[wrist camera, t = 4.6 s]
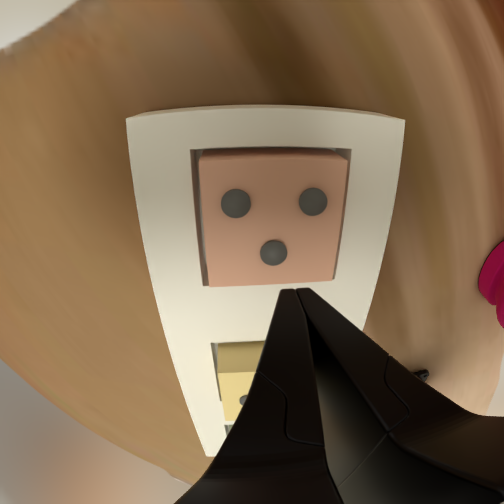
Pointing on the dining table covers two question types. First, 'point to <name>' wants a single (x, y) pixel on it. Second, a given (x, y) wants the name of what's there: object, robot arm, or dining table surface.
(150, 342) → the dining table surface
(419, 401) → the robot arm
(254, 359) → the tile
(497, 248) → the pepper mill
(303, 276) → the three-pip tile
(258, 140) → the rail
